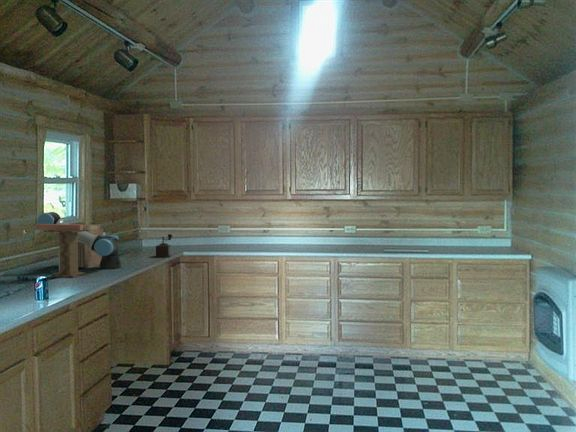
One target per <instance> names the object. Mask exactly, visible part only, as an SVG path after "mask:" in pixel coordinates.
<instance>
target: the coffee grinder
mask: <svg viewBox="0 0 576 432" xmlns="http://www.w3.org/2000/svg"><path fill="white" fill-rule="evenodd" d="M167 237H168V238H167V239H165V238H164V236H162V237H161V239H162V242H161V243H159V244H157V245H156V246H155V258H170V257H171V256H172V254H171V251H172V250H171V247H172V246H171V244H168V243H167V242H165V241H172V238H173V234H171V233H168V234H167Z"/></svg>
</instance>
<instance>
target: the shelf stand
mask: <svg viewBox="0 0 576 432" xmlns="http://www.w3.org/2000/svg"><path fill="white" fill-rule="evenodd" d="M83 231H86V230H51V232H50V233H52V232H59V233H58V242H59V243H58V244H59V246H58V247H59V248H58V250H59V253H60V271H59V272H57V273H56V272H55V273H52V274H51V277H55V278H69V279H77V278H79V277H83V276H87V272H81V271H79V268H78V232H83ZM59 253H58V254H59Z"/></svg>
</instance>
